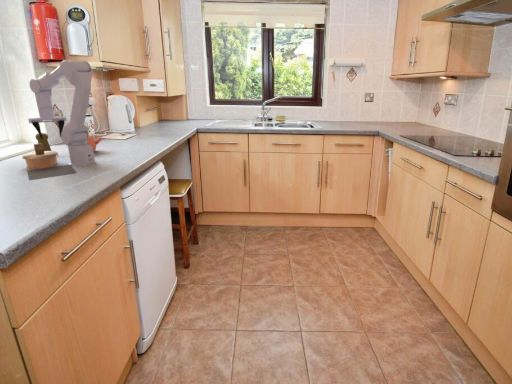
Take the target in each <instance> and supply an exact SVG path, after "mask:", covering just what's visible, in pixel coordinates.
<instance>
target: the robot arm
mask: <svg viewBox="0 0 512 384" xmlns="http://www.w3.org/2000/svg"><path fill="white" fill-rule="evenodd" d="M93 73H94V70H93V68H92V66H91V65H90V63H89V62H88V61H87V60H82V61H81V60H68V59H63V60H62V61H60V62H59V66H58V67H56V68H55V69H54V70H53V71H48V70H46V71H44V73H43V74H42V75H40V76H39V77H38V78H37V79H36V78H31V79H30V81H29V88H30V90H31V92H32V93H33V94H34V96H35V101H36V107H37V110H38V111H37V112H38V116H39V117H34V118H32V117H31V118H28V123H29V124H32V126H33V127H34V128H35V130H36V132H37V134H39V135H40V138H41V139H43V137H42V134H41V133H42V130H41V125H40V123H55V122H56V123H57V126H58V127H57V128H58V132H59V137H60V138H61V141H62V142H63V143H64V144H65V145H66V146H67V148H68V154H69V159H70V162H68V163H66V165H71V166H76V167H77V166H80V167H86V166H88V165H89V166H90V165H91V164H94V163H97V160H96V158H95V153H94V152H95V151H93V148H92V146H90V145H87V144H86V143H87V141H88V139H89V134H90V133H89V131H90V130H89V129H90V128H89V127H88V125H86V124H85V123H86V117H87V111H88V106H89V101H90V95H91V90H92V78H93ZM64 77H65V79H66V80H67V82H68V83H69V84H70V85H71V86H73V87H74V88H75V89H74V93H73V101H72V106H71V111H70V118H69V122H68V123H66V122H67V116H55V111H54V106H53V101H52V90H53V88H54V87H57V85H58V84H60V80H61V79H63V78H64ZM65 123H66V124H65Z"/></svg>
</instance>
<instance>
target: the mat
mask: <svg viewBox="0 0 512 384" xmlns="http://www.w3.org/2000/svg"><path fill="white" fill-rule="evenodd" d="M26 172H27V176H28V180H29V181H33V180H34V181H35V180H40V179H47V178H54V177H59V176H62V177H63V176H68V175H73V174H74V175H75V174H77V171H76V170H75V169H74V168H73V165H67V164H64V165H57V166H56V165H54V166H50V167H45V168H31V169H27V170H26Z"/></svg>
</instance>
